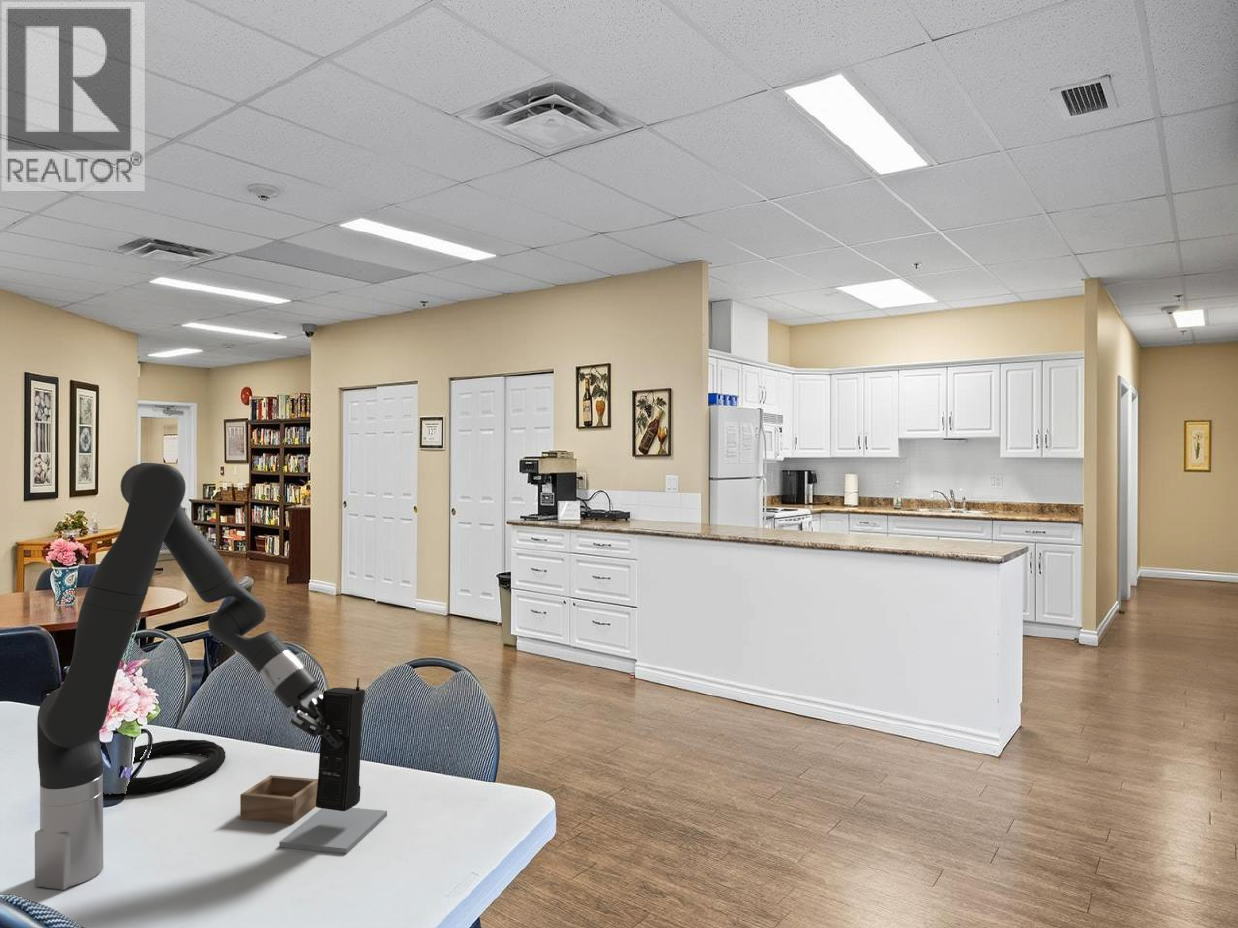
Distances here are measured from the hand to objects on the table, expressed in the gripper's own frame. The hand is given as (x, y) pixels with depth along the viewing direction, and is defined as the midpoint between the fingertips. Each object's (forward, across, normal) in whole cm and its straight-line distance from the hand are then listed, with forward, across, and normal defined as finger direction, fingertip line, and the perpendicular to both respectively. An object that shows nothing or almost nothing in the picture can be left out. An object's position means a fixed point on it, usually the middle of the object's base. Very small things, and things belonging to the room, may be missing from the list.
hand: (344, 742), depth 155 cm
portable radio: (+8, 0, +11) cm, 13 cm away
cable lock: (-29, +18, +55) cm, 64 cm away
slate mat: (+11, 0, +14) cm, 18 cm away
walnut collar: (0, +6, +25) cm, 26 cm away
